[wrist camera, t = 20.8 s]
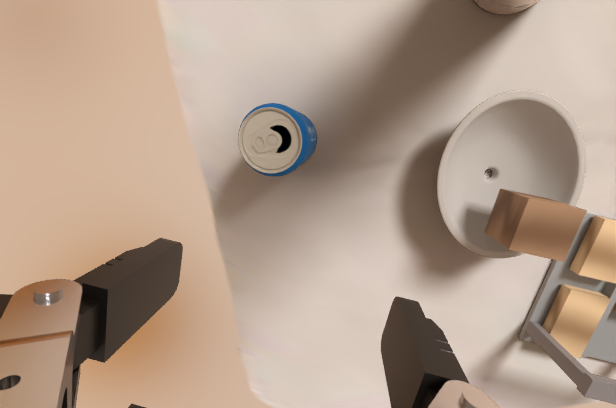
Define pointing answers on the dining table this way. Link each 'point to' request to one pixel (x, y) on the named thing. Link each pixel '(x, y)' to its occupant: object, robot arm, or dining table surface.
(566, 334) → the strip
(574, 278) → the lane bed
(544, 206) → the walnut block
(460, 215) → the dish
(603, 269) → the light wood block
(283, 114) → the beverage can
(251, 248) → the dining table surface
